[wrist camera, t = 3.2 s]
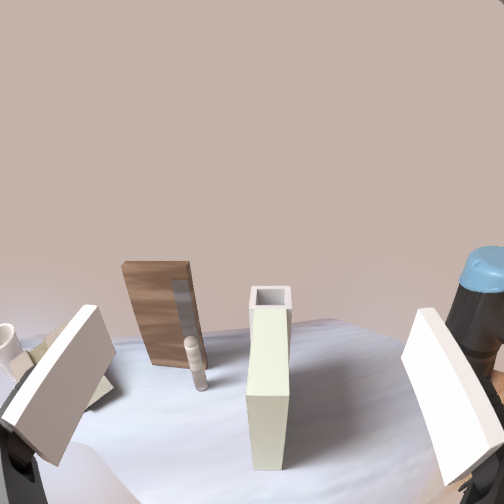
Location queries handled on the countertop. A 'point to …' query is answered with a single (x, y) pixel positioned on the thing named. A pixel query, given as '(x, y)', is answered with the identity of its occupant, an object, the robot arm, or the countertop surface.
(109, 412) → the countertop surface
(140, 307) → the walnut cabinet side
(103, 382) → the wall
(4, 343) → the dixie cup
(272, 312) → the cream thick square slab
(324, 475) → the countertop surface
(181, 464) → the countertop surface
